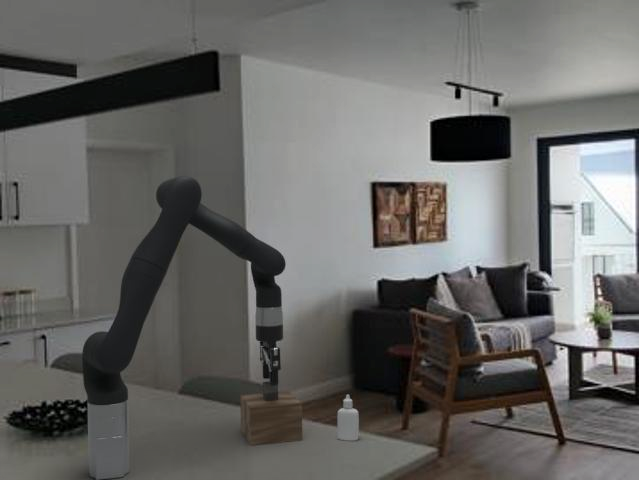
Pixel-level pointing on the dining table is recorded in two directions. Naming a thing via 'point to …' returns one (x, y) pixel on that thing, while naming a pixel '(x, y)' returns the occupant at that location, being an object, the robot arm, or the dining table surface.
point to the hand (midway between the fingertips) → (270, 381)
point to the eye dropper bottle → (348, 421)
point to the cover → (271, 416)
